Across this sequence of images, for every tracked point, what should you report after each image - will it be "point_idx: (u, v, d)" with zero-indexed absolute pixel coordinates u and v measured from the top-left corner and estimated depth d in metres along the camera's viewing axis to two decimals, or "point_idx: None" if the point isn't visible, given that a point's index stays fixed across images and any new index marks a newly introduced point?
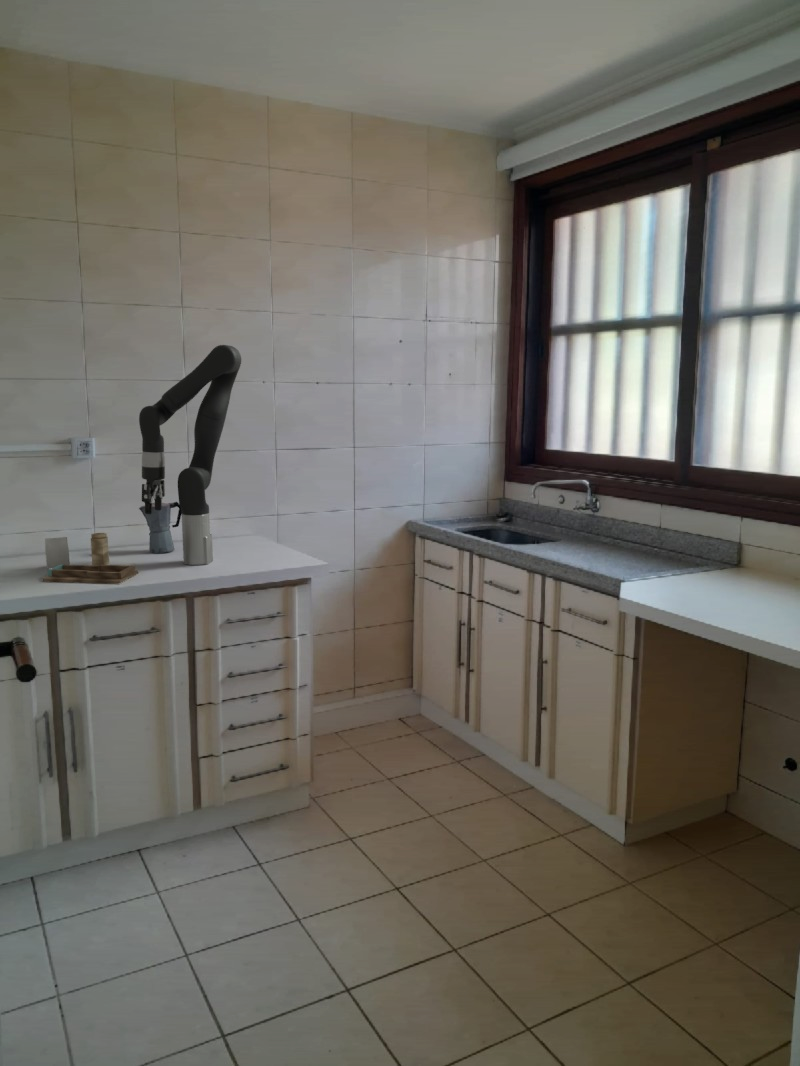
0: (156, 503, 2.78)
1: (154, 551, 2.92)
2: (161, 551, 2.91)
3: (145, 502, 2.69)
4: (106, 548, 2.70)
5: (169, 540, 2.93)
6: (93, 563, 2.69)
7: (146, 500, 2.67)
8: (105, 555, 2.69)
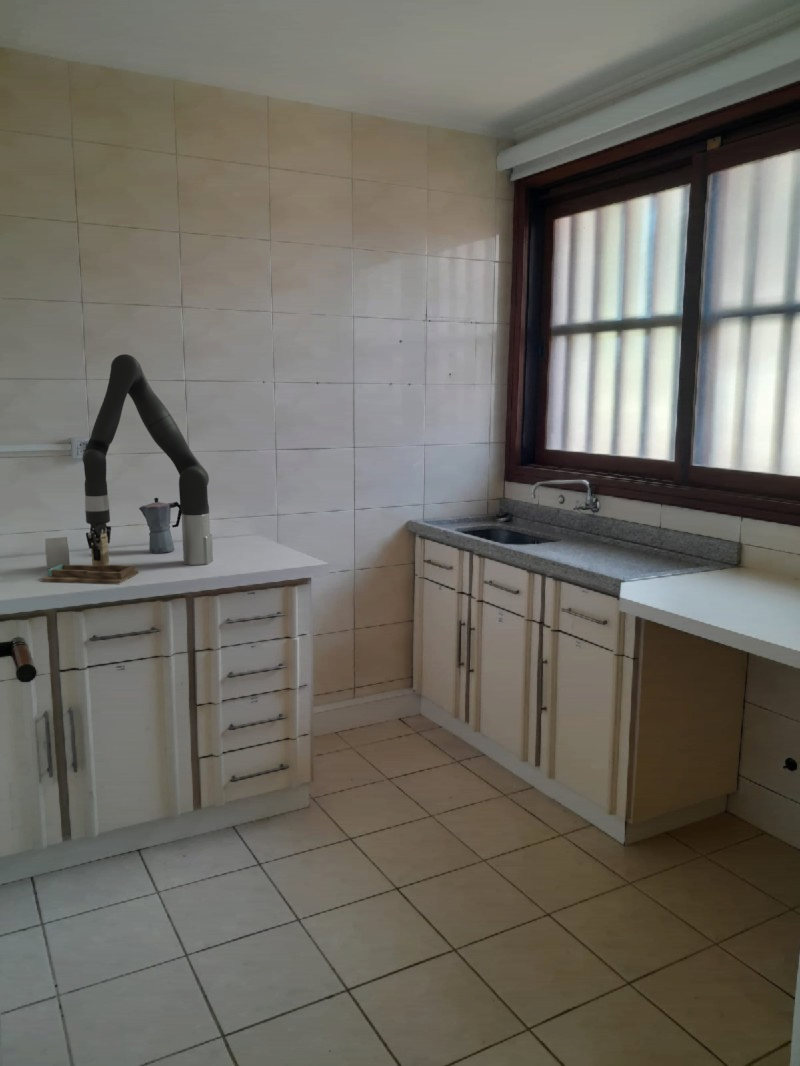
0: None
1: (154, 551, 2.92)
2: (161, 551, 2.91)
3: (93, 549, 2.66)
4: (106, 548, 2.70)
5: (169, 540, 2.93)
6: (93, 563, 2.68)
7: (93, 547, 2.64)
8: (105, 555, 2.69)
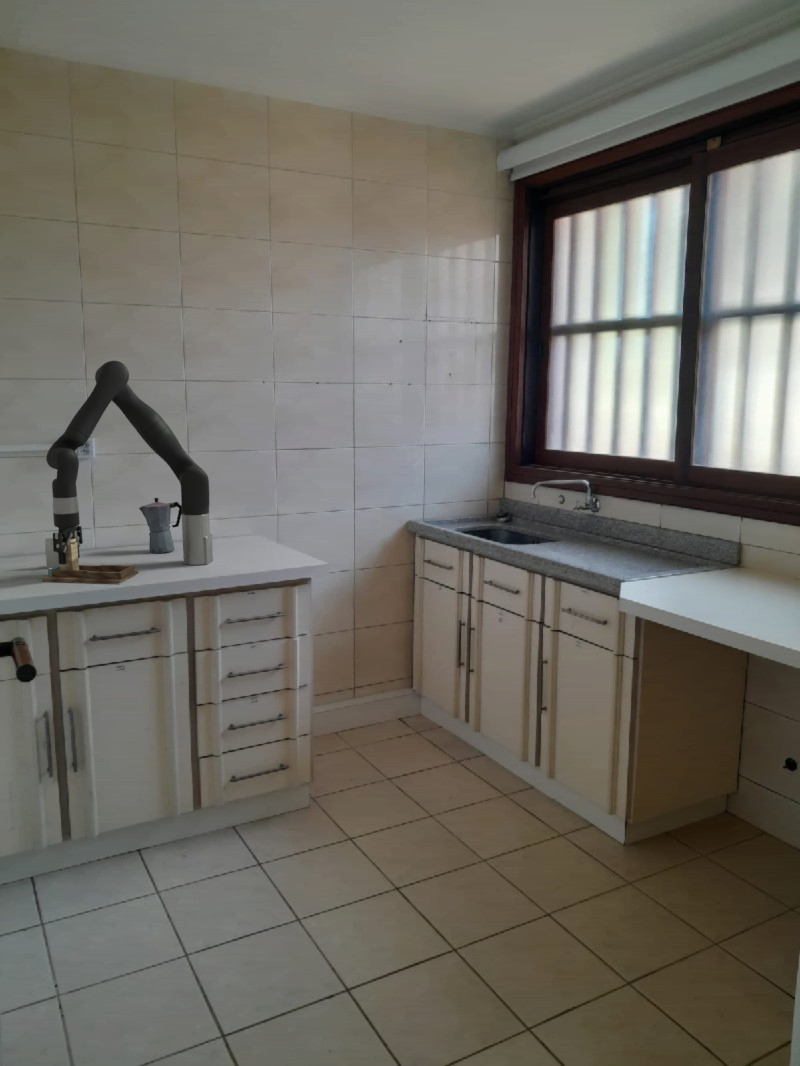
0: None
1: (154, 551, 2.92)
2: (161, 551, 2.91)
3: (58, 552, 2.49)
4: (75, 554, 2.55)
5: (169, 540, 2.93)
6: None
7: (58, 550, 2.47)
8: (74, 561, 2.55)
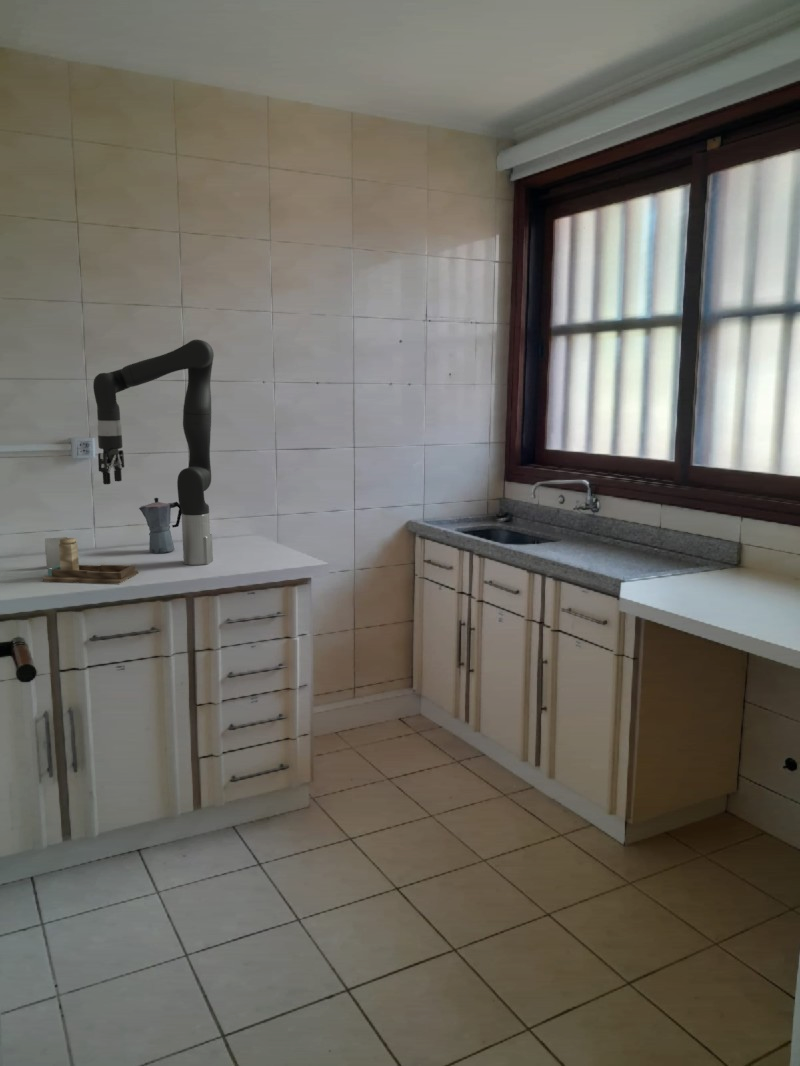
0: (115, 474, 2.72)
1: (154, 551, 2.92)
2: (161, 551, 2.91)
3: (102, 472, 2.63)
4: (75, 554, 2.55)
5: (169, 540, 2.93)
6: None
7: (103, 469, 2.61)
8: (74, 561, 2.55)
